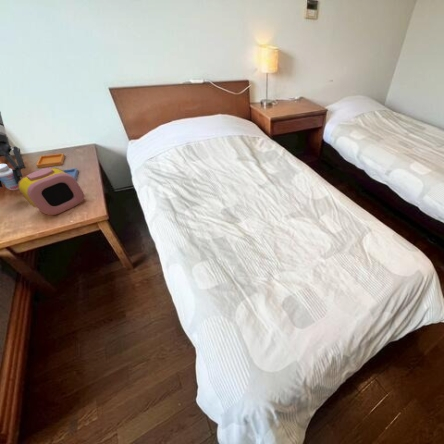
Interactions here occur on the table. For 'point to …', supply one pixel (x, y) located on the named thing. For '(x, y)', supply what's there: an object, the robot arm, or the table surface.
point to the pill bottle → (7, 177)
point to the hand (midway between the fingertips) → (9, 185)
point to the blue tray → (72, 172)
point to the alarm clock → (51, 190)
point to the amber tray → (50, 160)
